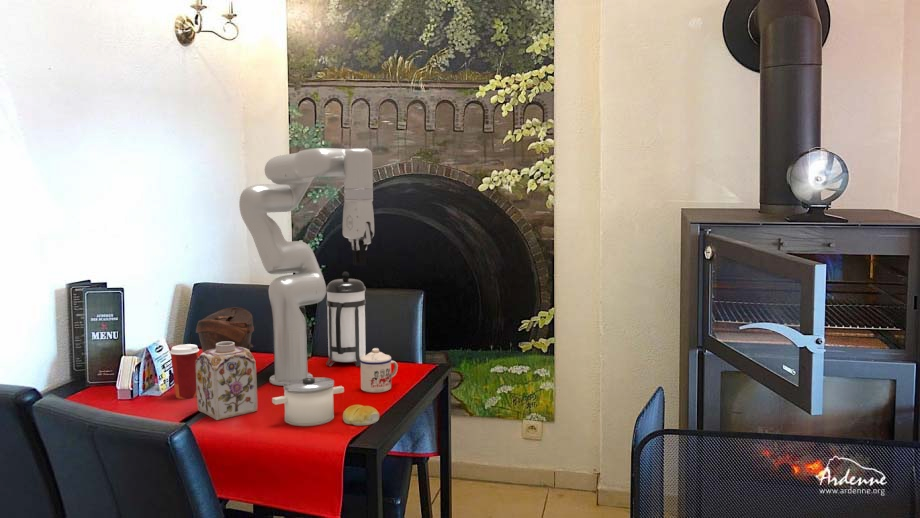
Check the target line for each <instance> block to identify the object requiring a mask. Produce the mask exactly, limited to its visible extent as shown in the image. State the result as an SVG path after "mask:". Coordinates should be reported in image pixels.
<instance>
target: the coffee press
mask: <svg viewBox="0 0 920 518" xmlns="http://www.w3.org/2000/svg"><path fill="white" fill-rule="evenodd" d="M341 276H342V278H337V279H333V280H331V281H330V282H329V283H328V284H327V285H326V306H327V307H326V308H327V311H326V312H327V339H328V340H327V342H328V343H327V344H328V345H327V347H328V360H327V361H326V366H328V367H330V368H331V367H333V365H334V364H335V363H353V364H354V365H355V367H356V368H358V367H360V368H361V362H360V358H361V357H362V356H364V355H367V353H366V352H367V351H366V303H367V302H366V298H365V295H366V293H365V292H366V290H367V288H366V286H365V284H364V282H363V281H361V280H360V279H357V278H356V279H355V278H349V277H350V273H349V272H348V271H343V272H342V274H341Z"/></svg>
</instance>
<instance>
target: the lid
mask: <svg viewBox="0 0 920 518" xmlns="http://www.w3.org/2000/svg"><path fill="white" fill-rule="evenodd" d="M332 386H333V387H335V380H334V379H333V378H329V377H318V376H317V377H314V376H313V378H302V379H296V380H292V381H288V382H286V383H284V386H283V391H284V390H287V391H291V392H311V391H319V390H324V389H327V388H330V387H332Z"/></svg>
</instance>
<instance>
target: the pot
mask: <svg viewBox="0 0 920 518" xmlns="http://www.w3.org/2000/svg"><path fill="white" fill-rule="evenodd" d="M283 391H284V393H283V394H284V395H281V396H275V397H272V398H271V402H272V404H274V405H276V406H277V405H282V404H284V422H285V423H286V424H288V425H291V426H295V427H314V426H319V425H320V426H321V425H324V424H326V423H329V422H331V421H333V420H334V418H335V412H334V409H335V408H334V395H335V394H342V393H345V388H344V386H342V385H339V386H332V387H330V388H327V389H324V390H319V391H311V392H291V391H287V390H284V389H283Z"/></svg>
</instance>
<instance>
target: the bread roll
mask: <svg viewBox="0 0 920 518" xmlns="http://www.w3.org/2000/svg"><path fill="white" fill-rule="evenodd" d="M342 420H343V422H344V423H345V424H347V425H353V426H357V427H360V426H361V427H362V426H369V425H373V424H375V423H377V422H379V420H380V412H379V411H378V410H377V409H376V408H375V407H373V406H370V405H363V404H352V405H350V406H348V407H347V408H345V410H344V411H343V413H342Z"/></svg>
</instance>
